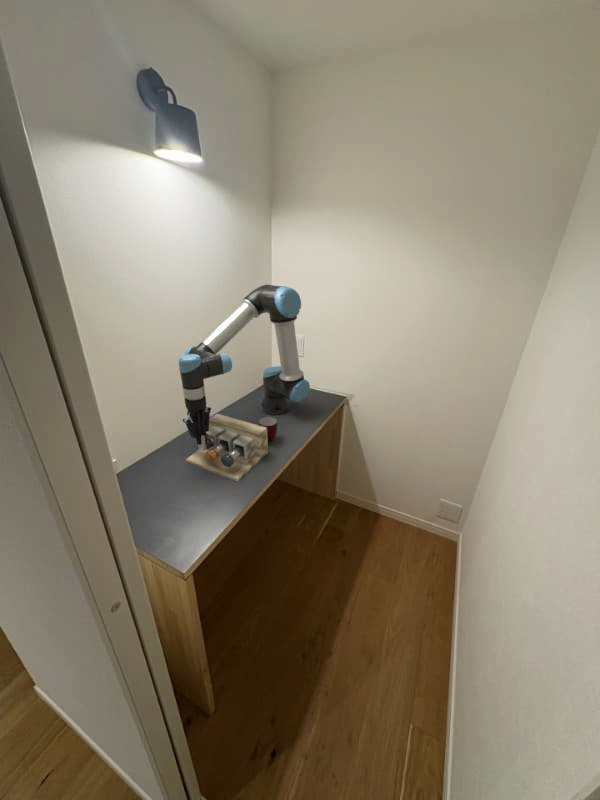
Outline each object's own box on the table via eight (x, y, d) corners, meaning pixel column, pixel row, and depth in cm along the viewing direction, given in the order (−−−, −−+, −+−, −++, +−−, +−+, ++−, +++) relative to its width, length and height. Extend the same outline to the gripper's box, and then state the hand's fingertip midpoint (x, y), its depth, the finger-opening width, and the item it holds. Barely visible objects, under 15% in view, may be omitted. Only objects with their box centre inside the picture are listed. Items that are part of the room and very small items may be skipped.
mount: (220, 436, 144) (217, 413, 139) (268, 452, 134) (266, 427, 128) (186, 461, 127) (181, 436, 122) (237, 481, 117) (235, 454, 112)
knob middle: (221, 448, 129) (219, 438, 127) (230, 451, 127) (229, 441, 125) (206, 459, 122) (205, 449, 120) (216, 463, 120) (214, 452, 118)
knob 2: (235, 453, 126) (234, 443, 124) (245, 456, 124) (244, 446, 122) (221, 465, 119) (220, 454, 117) (231, 468, 117) (230, 458, 115)
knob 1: (215, 437, 136) (214, 428, 134) (224, 440, 134) (223, 430, 132) (201, 447, 129) (199, 437, 127) (210, 450, 128) (209, 440, 125)
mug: (267, 450, 135) (266, 430, 131) (252, 445, 139) (251, 425, 134) (281, 438, 143) (280, 419, 139) (266, 434, 147) (265, 415, 142)
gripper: (199, 388, 123) (206, 439, 133) (174, 400, 113) (183, 455, 123) (214, 392, 120) (220, 444, 130) (189, 405, 110) (198, 460, 120)
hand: (202, 449), depth 127 cm, fingers closed
